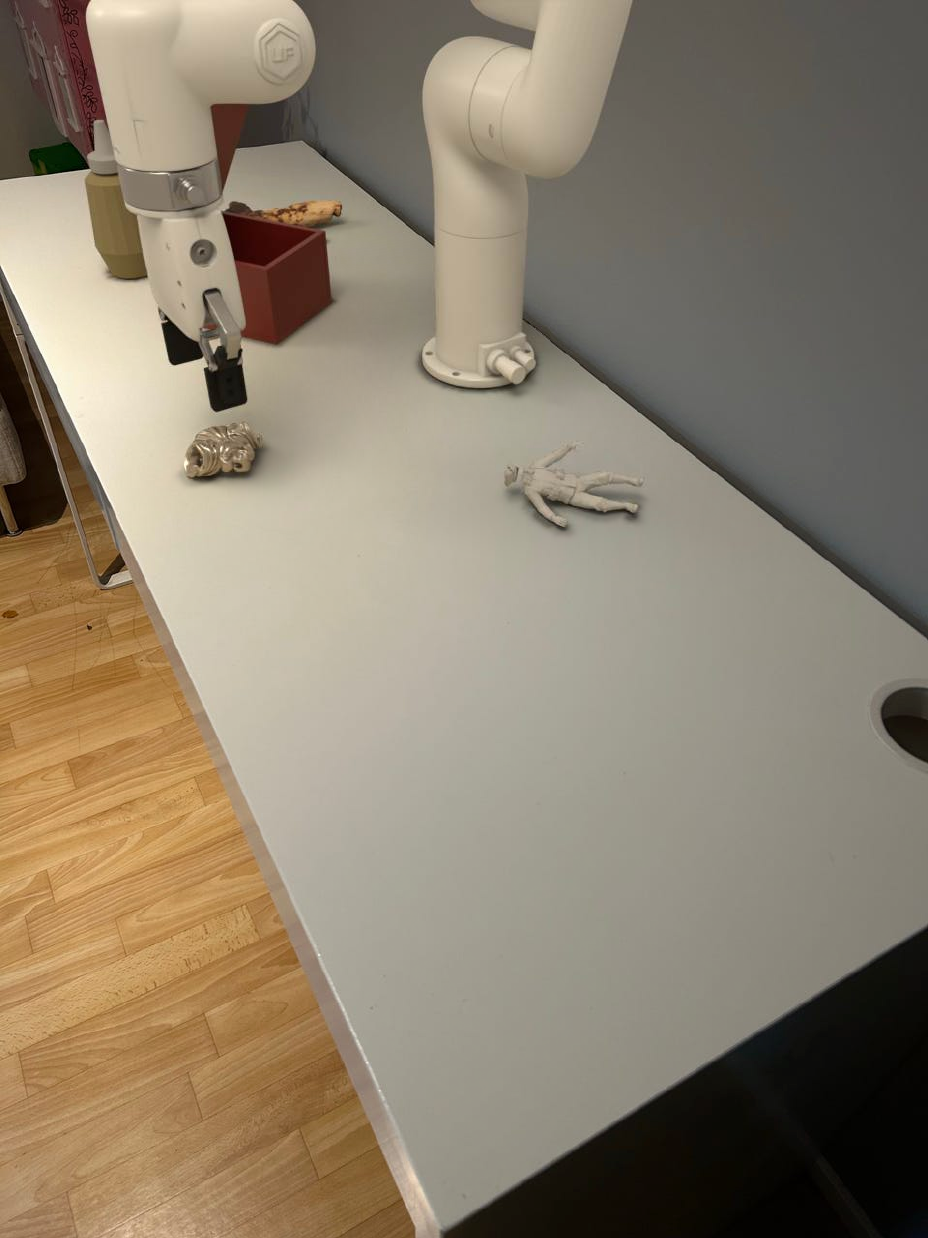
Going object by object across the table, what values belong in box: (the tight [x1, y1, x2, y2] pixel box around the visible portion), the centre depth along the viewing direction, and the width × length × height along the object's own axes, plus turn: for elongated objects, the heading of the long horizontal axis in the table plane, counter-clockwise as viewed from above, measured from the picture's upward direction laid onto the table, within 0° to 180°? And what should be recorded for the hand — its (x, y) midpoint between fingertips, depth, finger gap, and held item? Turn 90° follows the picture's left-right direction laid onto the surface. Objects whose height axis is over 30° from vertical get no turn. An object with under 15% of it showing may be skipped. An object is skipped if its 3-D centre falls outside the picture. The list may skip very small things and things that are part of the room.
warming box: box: [202, 210, 333, 346], centre depth 112 cm, size 16×13×9 cm
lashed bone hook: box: [224, 199, 343, 228], centre depth 130 cm, size 9×5×18 cm
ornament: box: [183, 421, 263, 478], centre depth 89 cm, size 8×7×4 cm
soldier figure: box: [503, 440, 645, 527], centre depth 85 cm, size 8×5×12 cm
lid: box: [210, 104, 251, 191], centre depth 104 cm, size 16×13×5 cm
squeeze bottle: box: [84, 119, 148, 279], centre depth 117 cm, size 8×8×18 cm
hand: (207, 382), depth 84 cm, fingers open, 9 cm apart
